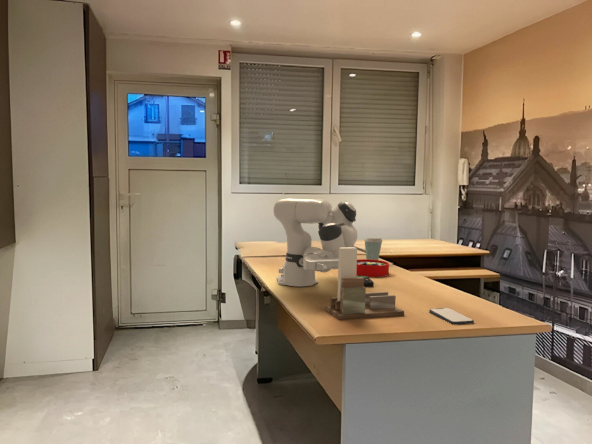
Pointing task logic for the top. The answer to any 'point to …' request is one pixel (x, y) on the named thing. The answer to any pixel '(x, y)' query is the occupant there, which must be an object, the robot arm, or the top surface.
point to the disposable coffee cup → (373, 248)
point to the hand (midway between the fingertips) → (336, 267)
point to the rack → (368, 307)
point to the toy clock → (372, 268)
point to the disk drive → (367, 281)
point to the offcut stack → (352, 295)
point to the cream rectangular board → (346, 265)
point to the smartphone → (450, 316)
